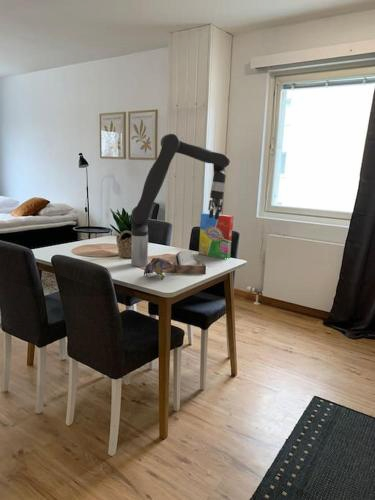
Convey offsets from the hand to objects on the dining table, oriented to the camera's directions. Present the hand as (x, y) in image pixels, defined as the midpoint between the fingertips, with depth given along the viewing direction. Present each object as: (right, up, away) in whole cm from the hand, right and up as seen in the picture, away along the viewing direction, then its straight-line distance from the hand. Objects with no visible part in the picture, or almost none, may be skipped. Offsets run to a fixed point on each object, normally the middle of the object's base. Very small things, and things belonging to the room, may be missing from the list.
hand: (213, 218), depth 214 cm
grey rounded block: (-17, -27, 0) cm, 32 cm away
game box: (+2, -22, +26) cm, 34 cm away
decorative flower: (-31, -32, -26) cm, 52 cm away
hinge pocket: (-14, -30, -13) cm, 36 cm away
